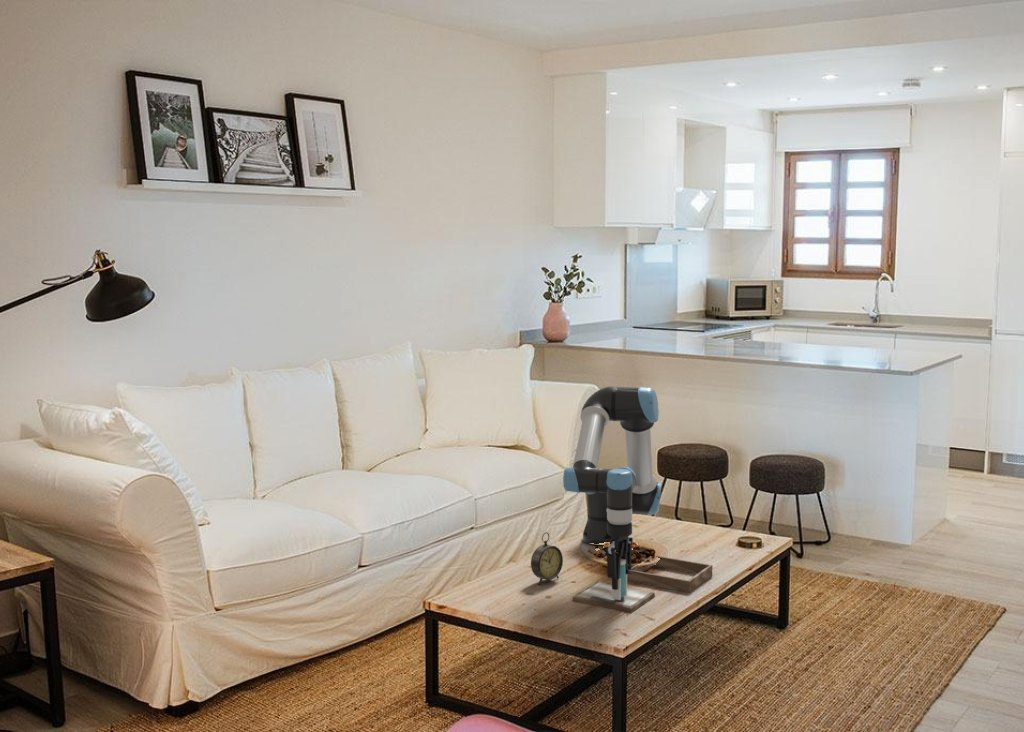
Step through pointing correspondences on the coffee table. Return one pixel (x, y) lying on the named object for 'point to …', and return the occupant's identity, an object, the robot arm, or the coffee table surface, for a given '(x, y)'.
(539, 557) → the alarm clock
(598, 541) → the robot arm
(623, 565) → the cylinder
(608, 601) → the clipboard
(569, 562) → the coffee table surface
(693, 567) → the gray brown tray
